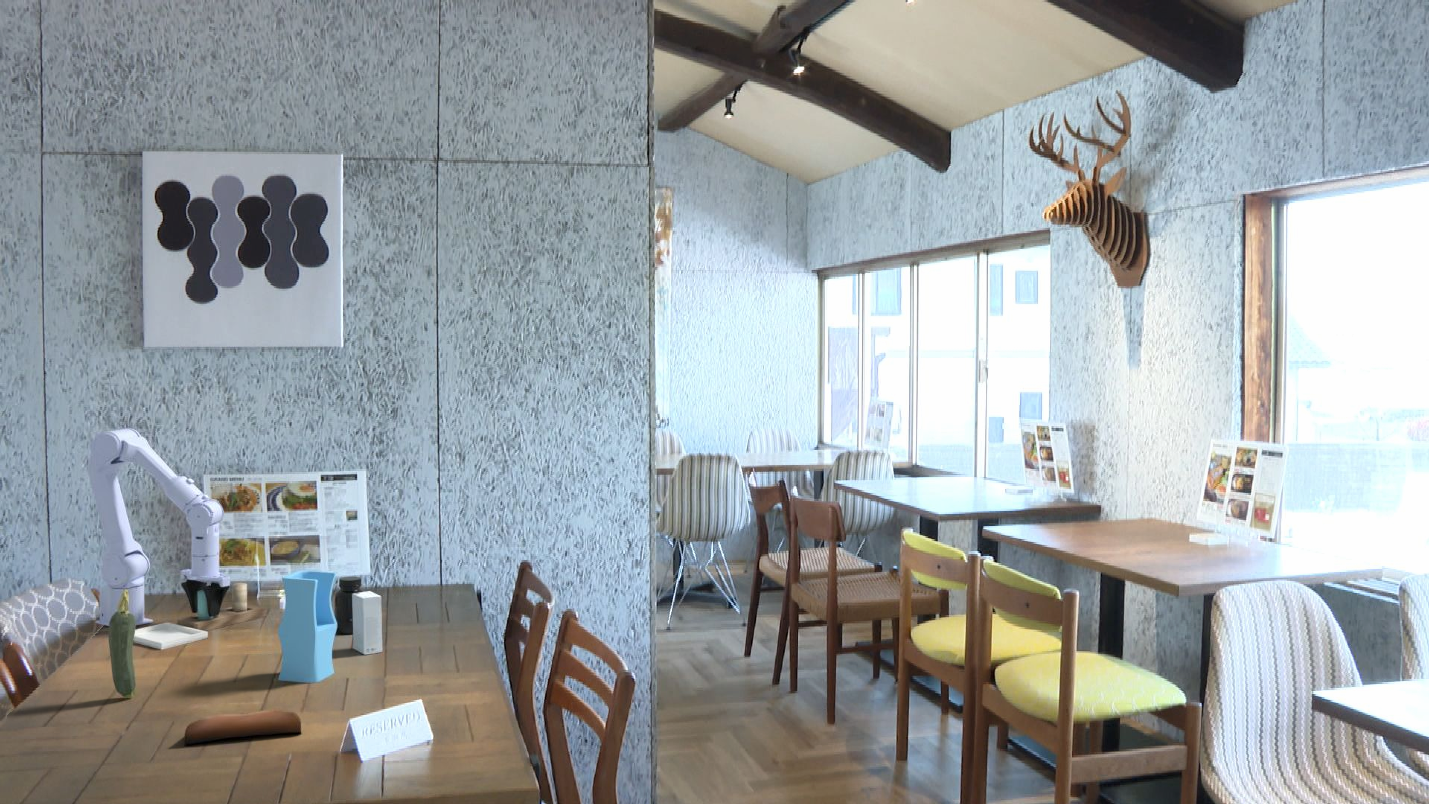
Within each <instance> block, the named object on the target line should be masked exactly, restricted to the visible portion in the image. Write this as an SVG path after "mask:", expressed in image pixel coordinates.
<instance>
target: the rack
mask: <svg viewBox="0 0 1429 804" xmlns="http://www.w3.org/2000/svg"><path fill="white" fill-rule="evenodd" d="M266 616H267V608H266V607H262V606H257V605H254V604H248V603H247V611H244V612H239V613H236V612H232V606H231V607H227V608H223V609H222V608H220V612H219V615H217V616H213V619H209V620H205V621H201V620H198V614H195V615H191V616H186V617H181V618H178V619H177V625H181V626H185V627H189V628H194V629H198V630H202V631H207V632H208V631H211V630H214V629H219V628H223V627H227V626H231V625H237V624H240V623H244V622H249V621H252V620H256V619H260V618H266Z"/></svg>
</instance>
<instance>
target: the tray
mask: <svg viewBox="0 0 1429 804" xmlns="http://www.w3.org/2000/svg"><path fill="white" fill-rule="evenodd" d="M208 638H209V632H208V630H207V631H202V630H198V629H194V628H189V627H185V626H181V625H178V624H176V623H172V622H168V621H167V622H163V623H158V624H154V625H149V626H145V627H140V628H137V629H136V628H135V635H134V640H133V644H138V645H142V646H146V647H150V648H154V649H157V650H160V651H161V650H166V649H171V648H173V647H174V648H175V647H178V646H182V645H186V644H190V643H194V642H197V641H203V640H206V639H208Z"/></svg>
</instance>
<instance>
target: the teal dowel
mask: <svg viewBox="0 0 1429 804" xmlns="http://www.w3.org/2000/svg"><path fill="white" fill-rule="evenodd" d="M197 615H198V620H201V621H205V620H209V619H213V617H209V615H208V607H207V599H206V596H205V593H204V591H203V590H201V591H198V612H197Z"/></svg>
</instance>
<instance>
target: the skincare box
mask: <svg viewBox="0 0 1429 804" xmlns="http://www.w3.org/2000/svg"><path fill="white" fill-rule="evenodd" d="M352 607H353V634H352V636H353V638H352V639H353V650H355V651H357V652H359V653H361V654H363V655H372V654H378V653H382V652H383V628H382V626H383V625H382V623H383V621H382V619H383V616H382V596H381V595H379V594H377V593H375V592H373V591H370V590H369V591H364V592H360V593H354V594H352Z"/></svg>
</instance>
